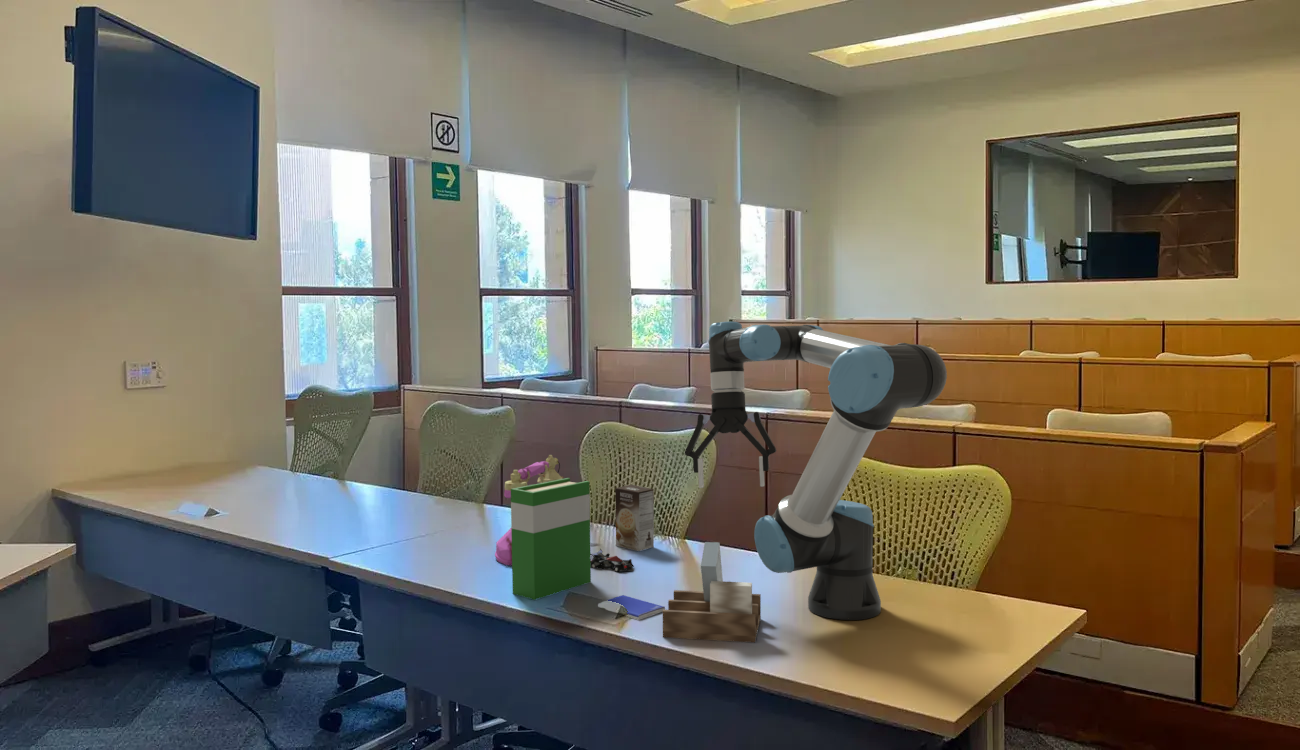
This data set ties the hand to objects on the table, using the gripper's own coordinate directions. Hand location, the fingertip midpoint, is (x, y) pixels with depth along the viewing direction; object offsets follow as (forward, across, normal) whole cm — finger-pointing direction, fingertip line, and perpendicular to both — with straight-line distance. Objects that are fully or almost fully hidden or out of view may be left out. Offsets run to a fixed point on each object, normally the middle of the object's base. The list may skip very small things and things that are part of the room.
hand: (731, 487), depth 210 cm
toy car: (+21, +33, -20) cm, 44 cm away
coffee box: (+18, +32, -41) cm, 55 cm away
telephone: (+18, +56, -32) cm, 67 cm away
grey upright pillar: (+22, +3, +15) cm, 27 cm away
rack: (+27, +3, +19) cm, 33 cm away
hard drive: (+26, +22, +10) cm, 35 cm away
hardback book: (+22, +43, -2) cm, 48 cm away
